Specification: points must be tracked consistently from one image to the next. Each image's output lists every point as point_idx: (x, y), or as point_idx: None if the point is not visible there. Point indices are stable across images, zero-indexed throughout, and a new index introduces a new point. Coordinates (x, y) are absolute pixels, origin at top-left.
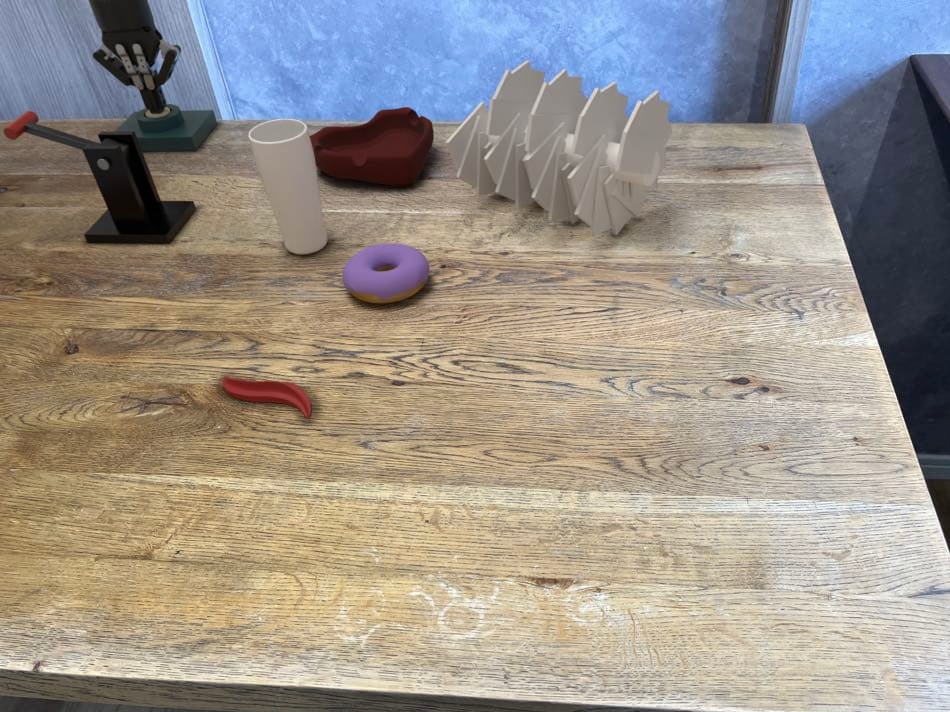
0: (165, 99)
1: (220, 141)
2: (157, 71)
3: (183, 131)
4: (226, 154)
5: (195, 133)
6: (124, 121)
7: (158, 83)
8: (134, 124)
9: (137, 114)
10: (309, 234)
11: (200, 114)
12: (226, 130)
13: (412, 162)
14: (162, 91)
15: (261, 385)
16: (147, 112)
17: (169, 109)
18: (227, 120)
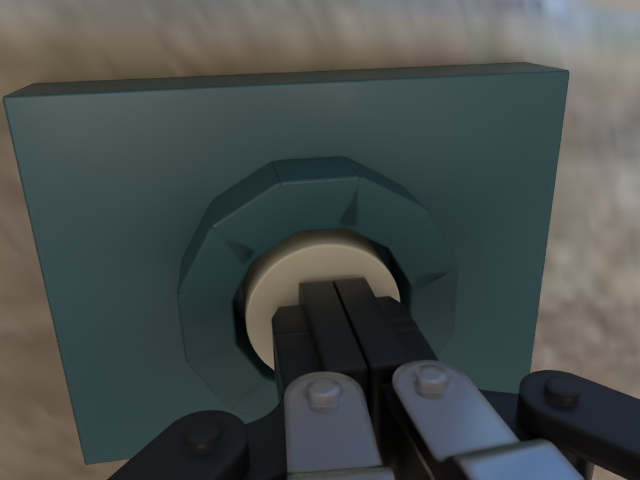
0: (411, 316)
1: (581, 272)
2: (509, 439)
3: (471, 361)
4: (625, 381)
5: (529, 359)
6: (39, 261)
7: None
8: (141, 302)
9: (198, 355)
10: None
11: (505, 143)
12: (589, 152)
13: None
14: (432, 353)
15: None
16: (263, 337)
17: (392, 280)
18: (573, 15)
